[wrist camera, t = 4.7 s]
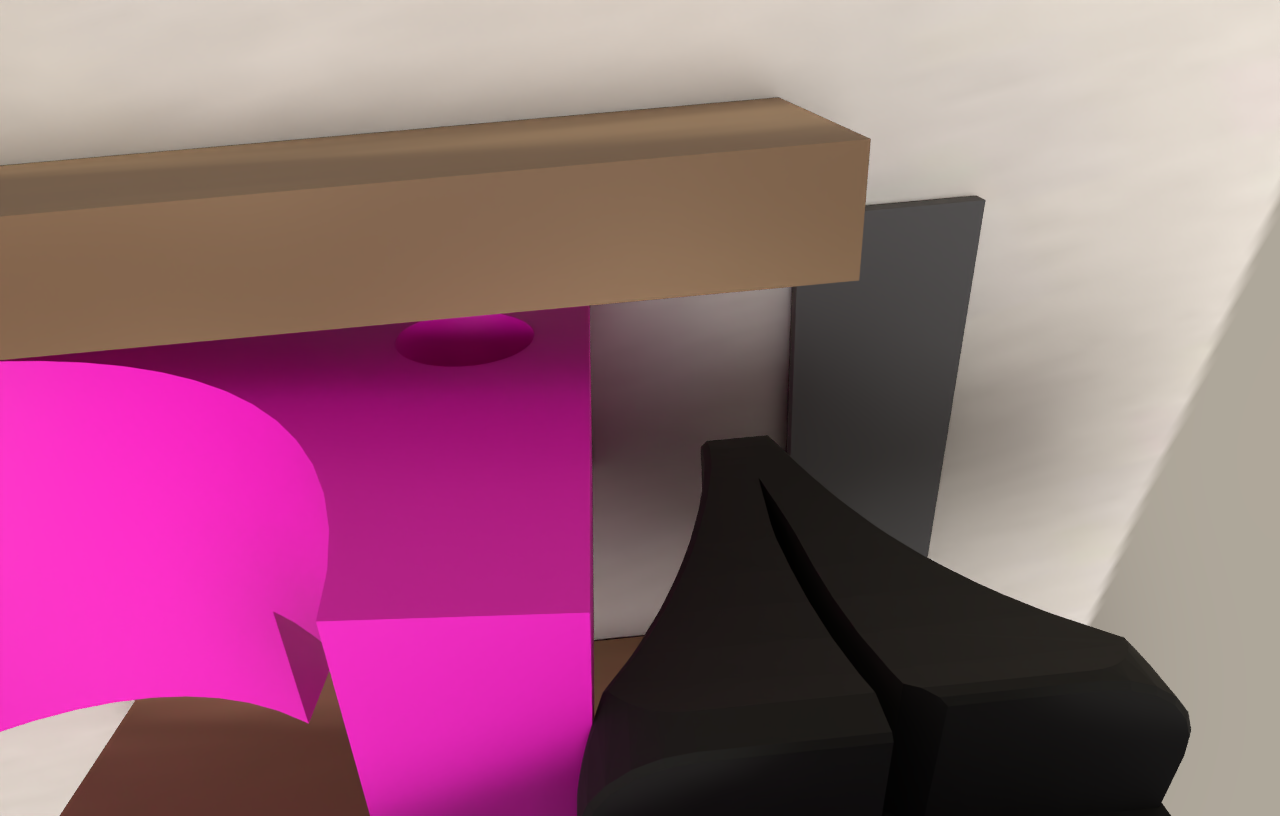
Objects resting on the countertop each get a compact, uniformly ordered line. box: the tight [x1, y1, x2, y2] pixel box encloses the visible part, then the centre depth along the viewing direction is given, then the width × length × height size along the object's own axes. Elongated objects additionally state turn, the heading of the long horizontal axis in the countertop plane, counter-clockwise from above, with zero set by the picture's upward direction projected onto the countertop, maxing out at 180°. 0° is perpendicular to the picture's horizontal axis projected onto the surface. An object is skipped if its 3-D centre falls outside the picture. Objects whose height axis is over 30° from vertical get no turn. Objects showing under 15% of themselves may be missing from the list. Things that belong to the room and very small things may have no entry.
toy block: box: [0, 305, 594, 816], centre depth 10 cm, size 15×6×8 cm, turn 89°
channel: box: [0, 97, 871, 816], centre depth 12 cm, size 12×14×4 cm
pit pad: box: [787, 196, 985, 557], centre depth 14 cm, size 9×3×1 cm, turn 4°
